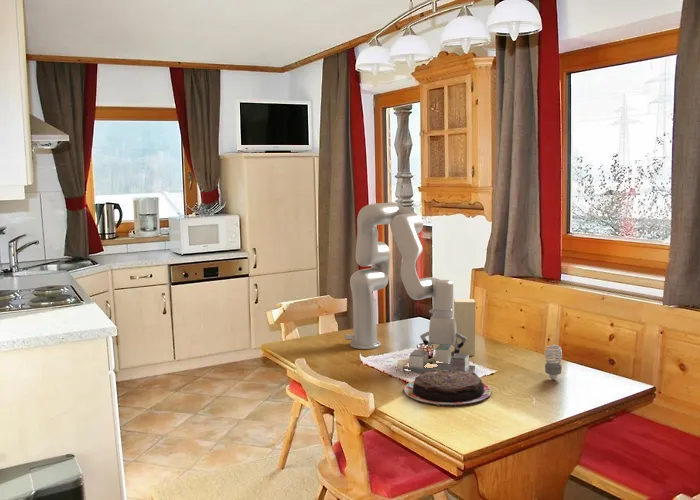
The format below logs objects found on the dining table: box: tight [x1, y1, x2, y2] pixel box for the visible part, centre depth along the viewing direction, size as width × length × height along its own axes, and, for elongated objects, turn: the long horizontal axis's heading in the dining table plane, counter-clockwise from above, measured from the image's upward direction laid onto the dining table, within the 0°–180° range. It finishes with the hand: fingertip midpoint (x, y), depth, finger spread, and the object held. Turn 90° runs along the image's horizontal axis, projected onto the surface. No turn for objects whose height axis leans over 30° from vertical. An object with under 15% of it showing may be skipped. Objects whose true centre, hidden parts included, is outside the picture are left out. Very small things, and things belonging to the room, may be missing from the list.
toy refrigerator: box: [453, 298, 476, 357], centre depth 257 cm, size 8×7×21 cm
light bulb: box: [544, 344, 563, 381], centre depth 223 cm, size 6×6×12 cm
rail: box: [402, 349, 476, 374], centre depth 237 cm, size 24×9×6 cm, turn 69°
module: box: [434, 344, 452, 364], centre depth 247 cm, size 4×6×6 cm
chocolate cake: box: [403, 369, 493, 407], centre depth 213 cm, size 28×28×7 cm
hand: (443, 358), depth 247 cm, fingers open, 9 cm apart
